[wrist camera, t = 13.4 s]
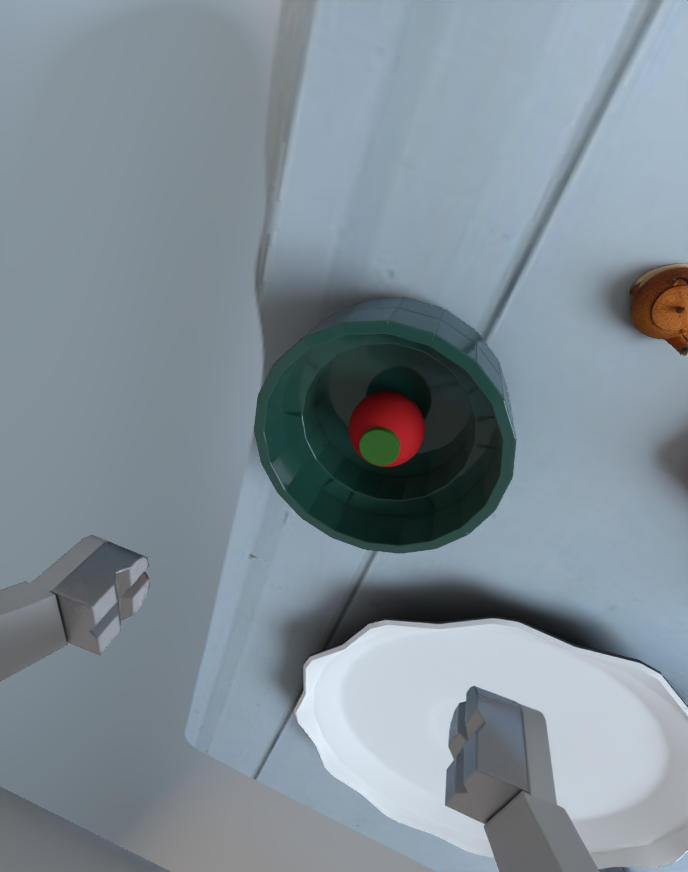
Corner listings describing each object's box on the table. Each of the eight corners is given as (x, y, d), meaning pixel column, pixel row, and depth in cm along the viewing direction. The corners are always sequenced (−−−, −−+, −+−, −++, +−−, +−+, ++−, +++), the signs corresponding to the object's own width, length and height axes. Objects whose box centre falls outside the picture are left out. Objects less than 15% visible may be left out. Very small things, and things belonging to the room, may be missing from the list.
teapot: (728, 276, 16) (769, 287, 14) (677, 349, 18) (706, 370, 15) (651, 253, 16) (678, 261, 14) (607, 327, 18) (626, 345, 16)
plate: (513, 514, 23) (516, 543, 21) (828, 807, 27) (856, 855, 25) (244, 675, 38) (231, 701, 36) (471, 849, 42) (471, 881, 40)
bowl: (312, 268, 20) (269, 286, 16) (547, 333, 19) (568, 371, 14) (283, 457, 26) (244, 507, 22) (461, 517, 24) (457, 583, 20)
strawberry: (367, 370, 21) (348, 400, 18) (438, 392, 21) (431, 426, 17) (352, 431, 23) (332, 468, 20) (416, 452, 22) (406, 493, 19)
